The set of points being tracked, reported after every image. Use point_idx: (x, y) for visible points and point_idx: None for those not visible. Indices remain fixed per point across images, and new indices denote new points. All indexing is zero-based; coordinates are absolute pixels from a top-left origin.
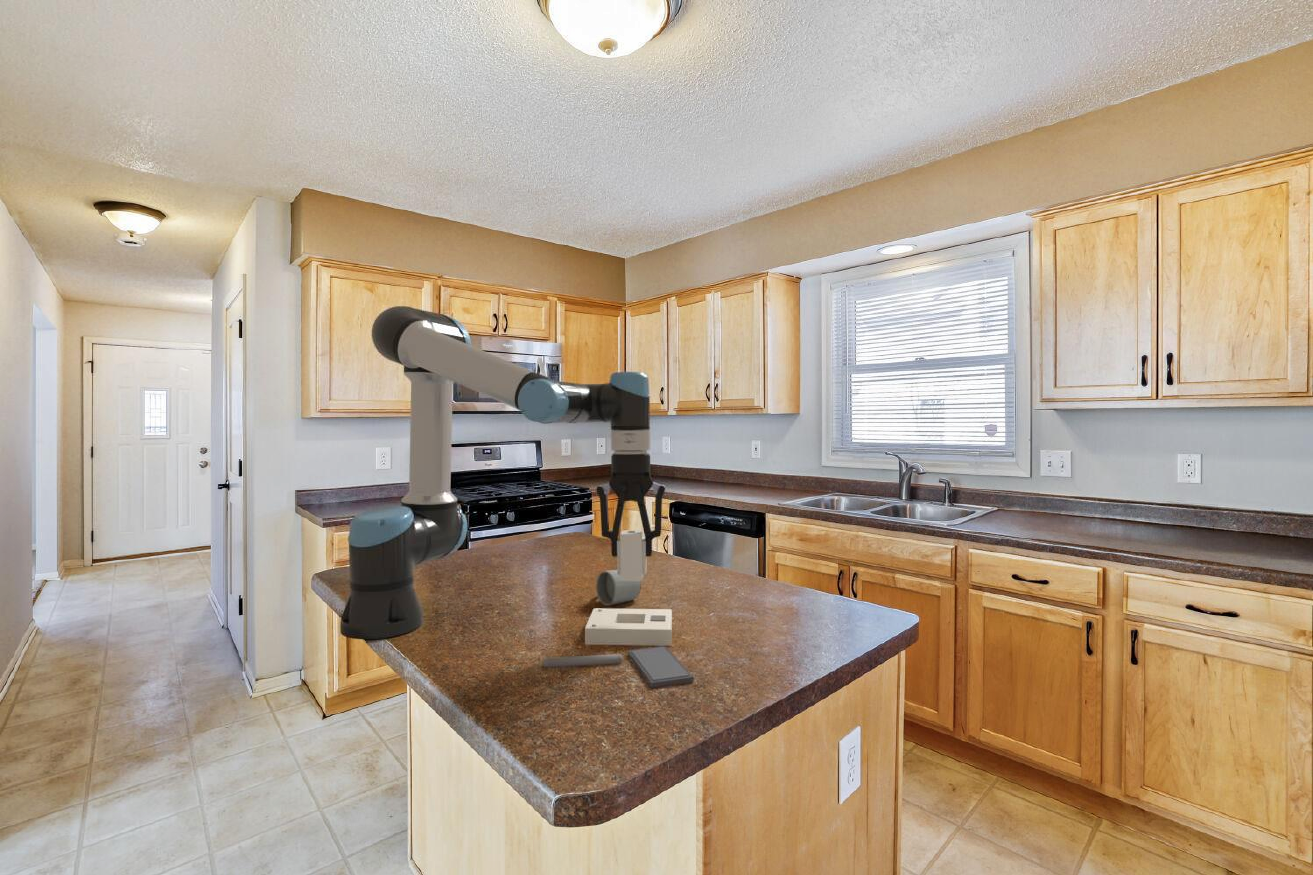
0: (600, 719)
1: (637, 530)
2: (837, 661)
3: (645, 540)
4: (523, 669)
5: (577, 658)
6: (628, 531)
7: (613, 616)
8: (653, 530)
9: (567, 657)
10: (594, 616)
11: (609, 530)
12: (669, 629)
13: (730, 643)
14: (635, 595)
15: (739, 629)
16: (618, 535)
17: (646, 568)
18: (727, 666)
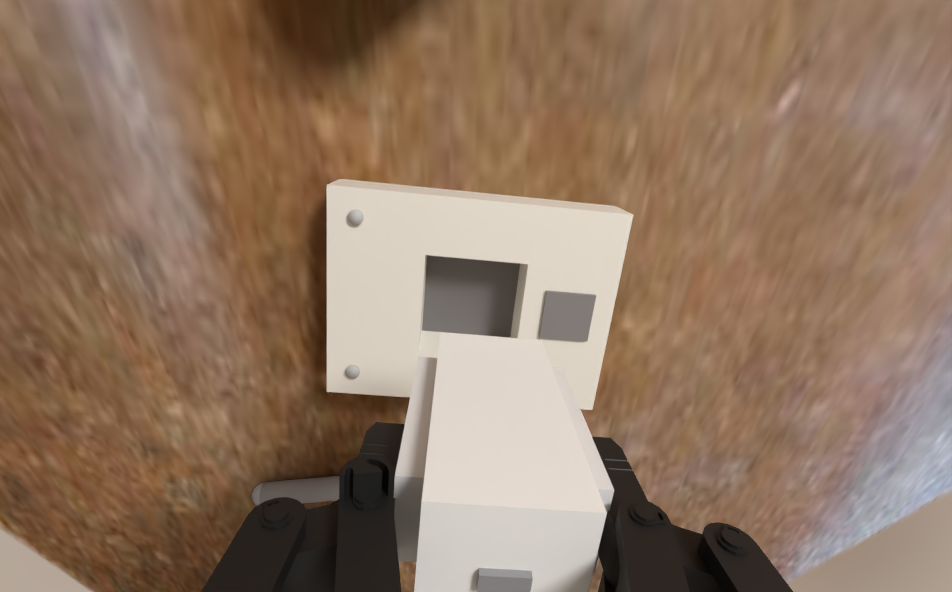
0: None
1: (561, 511)
2: (938, 482)
3: (597, 557)
4: (215, 502)
5: (336, 499)
6: (477, 589)
7: (411, 284)
8: (694, 573)
9: (310, 500)
10: (342, 281)
11: (305, 556)
12: (586, 407)
13: (743, 374)
14: None
15: (815, 269)
16: (392, 492)
17: (565, 377)
18: (684, 499)
